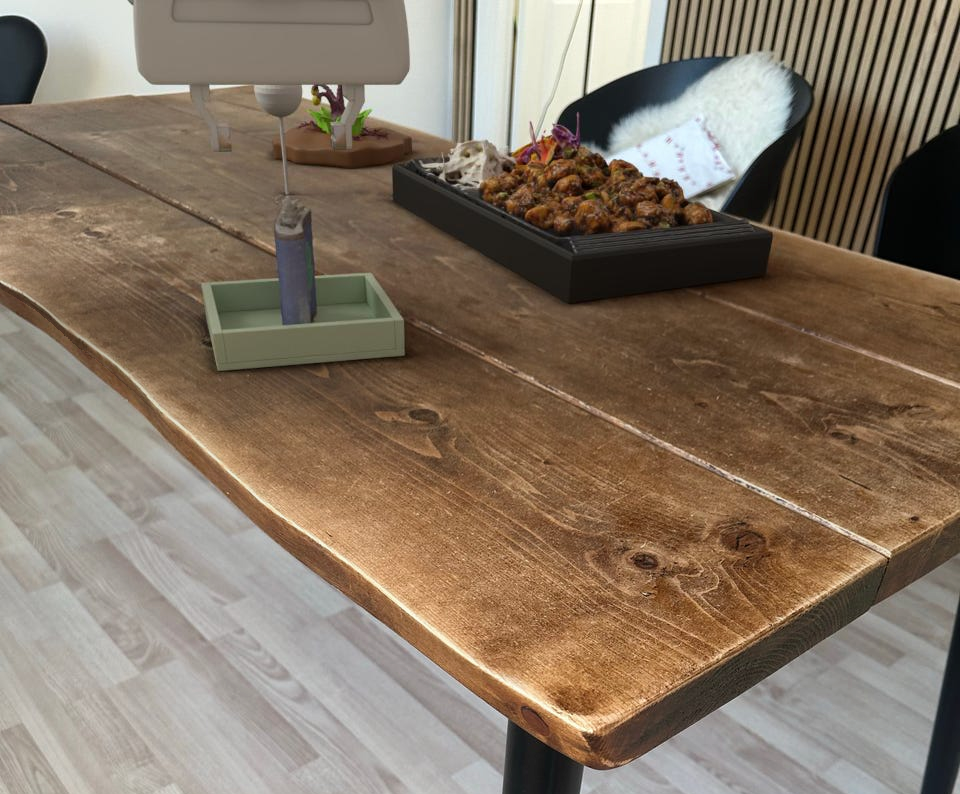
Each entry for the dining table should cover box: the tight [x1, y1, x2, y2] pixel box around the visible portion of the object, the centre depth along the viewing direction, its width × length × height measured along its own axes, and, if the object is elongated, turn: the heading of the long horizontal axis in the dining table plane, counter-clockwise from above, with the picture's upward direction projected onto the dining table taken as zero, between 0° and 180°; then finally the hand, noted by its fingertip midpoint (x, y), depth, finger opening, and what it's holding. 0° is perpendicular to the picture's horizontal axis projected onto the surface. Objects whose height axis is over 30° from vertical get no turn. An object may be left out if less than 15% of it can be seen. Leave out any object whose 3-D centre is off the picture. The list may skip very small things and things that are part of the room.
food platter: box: [391, 111, 774, 304], centre depth 112 cm, size 45×25×10 cm, turn 26°
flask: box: [273, 194, 317, 325], centre depth 82 cm, size 9×3×11 cm, turn 4°
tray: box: [200, 272, 406, 372], centre depth 84 cm, size 16×14×3 cm
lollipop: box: [253, 85, 303, 195], centre depth 123 cm, size 6×6×15 cm
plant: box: [271, 85, 413, 169], centre depth 146 cm, size 20×20×11 cm
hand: (282, 149), depth 76 cm, fingers open, 8 cm apart
